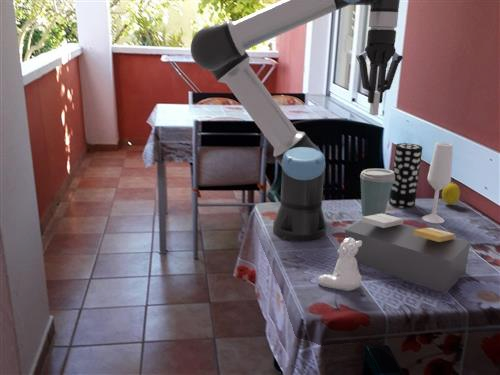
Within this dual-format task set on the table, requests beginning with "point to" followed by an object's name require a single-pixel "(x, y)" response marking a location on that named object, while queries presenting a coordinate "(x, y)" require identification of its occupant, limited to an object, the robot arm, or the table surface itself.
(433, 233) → the amber rocker
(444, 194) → the lemon
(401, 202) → the spotted tube
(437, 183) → the champagne flute
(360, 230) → the switch box
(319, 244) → the table surface
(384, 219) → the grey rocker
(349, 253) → the white creature statuette
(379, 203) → the disposable coffee cup
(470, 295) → the table surface
